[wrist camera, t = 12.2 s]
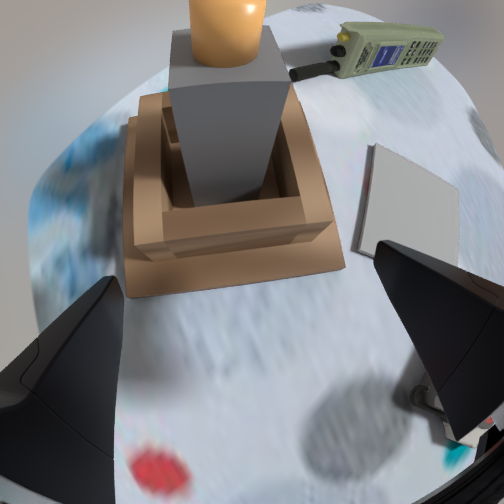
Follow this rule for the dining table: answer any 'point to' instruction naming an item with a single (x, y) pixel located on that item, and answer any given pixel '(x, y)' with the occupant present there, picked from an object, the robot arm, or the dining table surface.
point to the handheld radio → (375, 50)
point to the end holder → (222, 213)
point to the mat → (410, 208)
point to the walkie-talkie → (429, 401)
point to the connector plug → (226, 98)
